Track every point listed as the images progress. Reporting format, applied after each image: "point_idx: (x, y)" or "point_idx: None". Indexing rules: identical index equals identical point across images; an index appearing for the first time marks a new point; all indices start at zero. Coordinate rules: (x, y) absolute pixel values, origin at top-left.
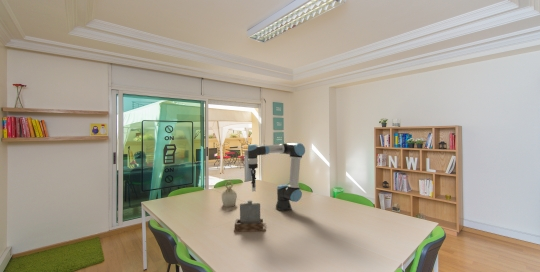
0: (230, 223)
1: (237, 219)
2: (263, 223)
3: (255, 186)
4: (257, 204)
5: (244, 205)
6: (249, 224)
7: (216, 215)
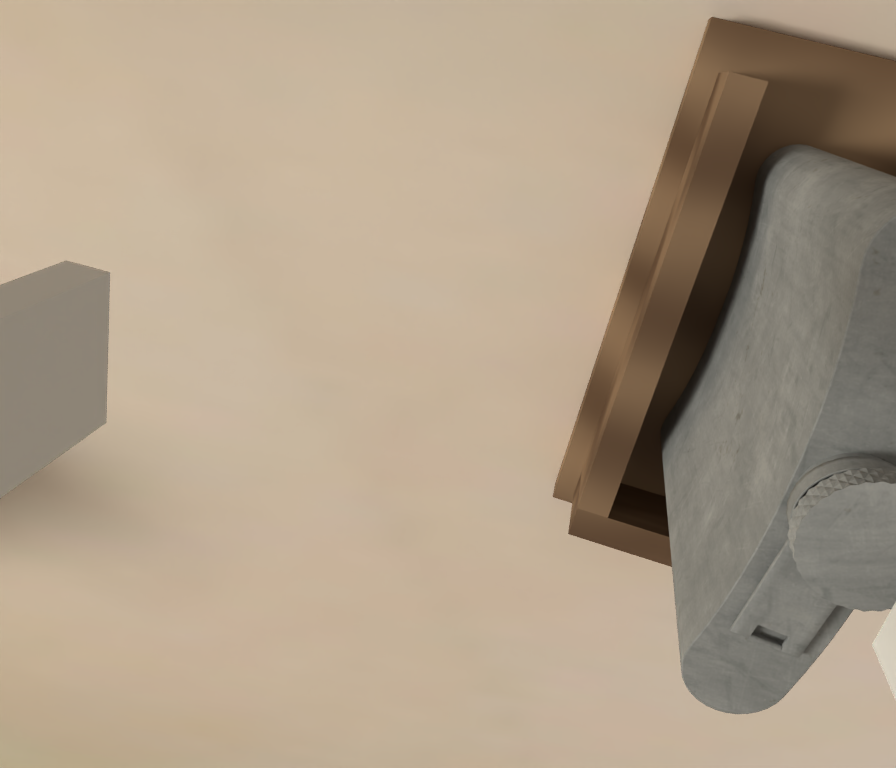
0: (454, 530)
1: (587, 517)
2: (723, 63)
3: (92, 295)
4: None
5: (828, 626)
6: None
7: (130, 626)
